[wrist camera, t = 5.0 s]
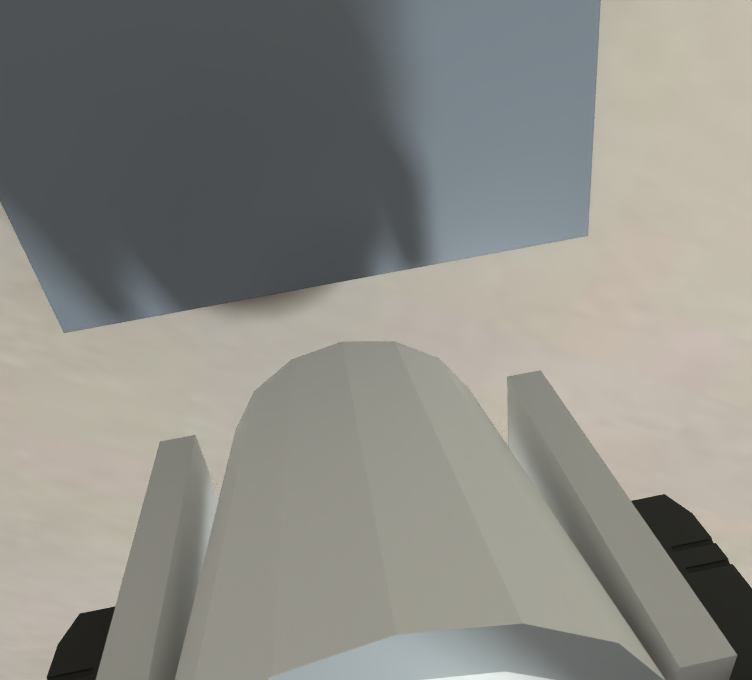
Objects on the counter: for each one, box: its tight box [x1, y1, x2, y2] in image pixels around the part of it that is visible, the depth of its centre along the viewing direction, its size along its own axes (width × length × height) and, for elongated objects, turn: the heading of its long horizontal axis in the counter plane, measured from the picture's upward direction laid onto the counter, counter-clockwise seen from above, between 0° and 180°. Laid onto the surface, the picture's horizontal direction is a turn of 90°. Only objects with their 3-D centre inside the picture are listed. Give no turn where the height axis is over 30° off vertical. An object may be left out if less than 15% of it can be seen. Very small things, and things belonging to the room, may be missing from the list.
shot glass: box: [175, 341, 665, 680], centre depth 11 cm, size 7×7×7 cm
